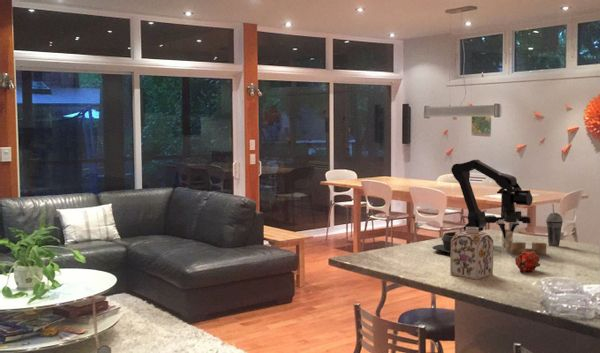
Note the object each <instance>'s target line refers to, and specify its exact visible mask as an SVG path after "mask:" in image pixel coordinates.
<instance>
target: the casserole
mask: <svg viewBox="0 0 600 353" xmlns="http://www.w3.org/2000/svg"><path fill="white" fill-rule="evenodd" d="M457 232H458V231H452V232H445V233H443V236H442V237H441V238H440V239H441V241H442V244H436V245H434V246H432V249H433V250H435V251H440V252H444V253H447V254H449V255H451V240H452V238H453V236H454V235H455V234H456V233H457Z"/></svg>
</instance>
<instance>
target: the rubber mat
mask: <svg viewBox="0 0 600 353" xmlns="http://www.w3.org/2000/svg"><path fill="white" fill-rule="evenodd" d="M506 253H507V254H508V255H509V256H511V257H512V258H514V259H516V257H517V256H518V255H512V254H511V251H506ZM538 256H539V259H553V257H552V256H550V255H549V254H547V253H546V255H538Z"/></svg>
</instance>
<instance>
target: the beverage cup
mask: <svg viewBox="0 0 600 353" xmlns="http://www.w3.org/2000/svg"><path fill="white" fill-rule="evenodd" d="M551 206H552V212H551V213H550V214H548V215H547V217H546V220H545V223H546V227H547V241H548V242H547V243H548V247H558V248H559V247H560V244H561V233H562V227H563V223H564V220H563V217H562V216H561V214H559V213H557V212H555V208H554V207H555V206H554V203H553V202H552V204H551Z"/></svg>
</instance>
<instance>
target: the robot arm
mask: <svg viewBox="0 0 600 353" xmlns="http://www.w3.org/2000/svg"><path fill="white" fill-rule="evenodd" d="M474 170H475V171H478V172H479V173H481V174H483V175H484V176H486V177H488V178H490V179H492V180H493V181H494V182H495V183H496V185H498V187H500V189H499V190H498V191H496V194H498V195H499V194H500V195H501V196H500V197H501V199H500V200H501V201H500V202H501V203H500V204H501V205H500V210H501V211H500V216H496V215H491V214H490V215H487V214H486V213H485V211H484V210H483V211H482V210H480V208H479V205H478V203H477V200H476V197H475V193H474V190H473V188H472V184H471V181H470V177H471V172H472V171H474ZM450 171H451V173H452V175H453V178H454V179H455V180H456V181H457V183H458V184H459V186H460V187H459V188H460V189H461V193H462V196H463V199H464V201H465V204H466V205H465V206H466V208H467V212H468V213H467V223H466V224H465V225H464V226H463V231H466V227H477V228H479V231H480V232H484V228H485V227H486V226H487V224H497V226H499V228H500V231H501V235H502V234H503V237H504V238H505V227H506V224H505V223H509V228H508V229H510V230H511V231H512V232H513V233H514V231H515V229H516V227H517V226H520V222H521V223H522V224H531V217H529V215H522V211H521V210H519V211H518V210H517V211H516V205H517V206H525V207H527V206H529V207H530V206H532V203H533V200H534V198H533V195H532V193H531V190H529V189H528V190H527V189H526V190H524V189H522V187H521V186H520V185H519V183H518V180H517V178H516V176H513V175H511V174H508V173H505V172H504V173H503V172H501V171H498V170H497V169H495V168H493V167H491V166H489V165H487V164H486V163H484V162H483V161H481V160H479V159H471V160H469V161H466V162H463V163H461V162H460V163H455V164H453V165H452V166H451V170H450Z"/></svg>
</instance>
